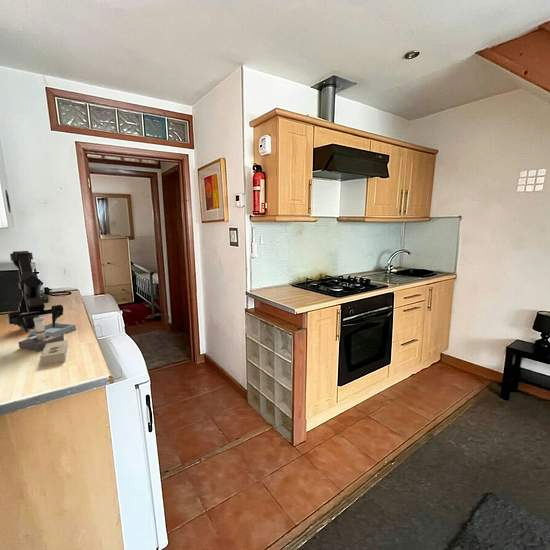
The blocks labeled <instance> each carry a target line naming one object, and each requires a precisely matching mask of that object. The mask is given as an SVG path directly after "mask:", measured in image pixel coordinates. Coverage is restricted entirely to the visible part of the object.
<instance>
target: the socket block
mask: <svg viewBox="0 0 550 550" xmlns="http://www.w3.org/2000/svg"><path fill="white" fill-rule="evenodd" d="M64 335H65V334H62V335H58V334H48V333H46V338H45V339H43V340H42V341H37V337H36V336H30V337H28V338H25V339H24V340H21V341H18V348H20V349H19V350H25V349H28V350H27V351H33V350H36V351H35V352H42V351H43V349H44V348H45V346H46V344H47V343H53V342H59V341H65V338H64ZM41 350H42V351H41Z"/></svg>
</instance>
